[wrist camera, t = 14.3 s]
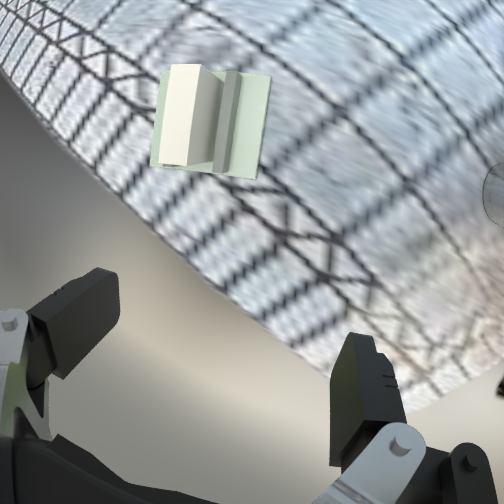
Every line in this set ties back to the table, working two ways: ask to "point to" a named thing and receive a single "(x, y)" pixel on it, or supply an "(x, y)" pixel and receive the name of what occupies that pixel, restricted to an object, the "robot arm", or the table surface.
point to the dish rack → (227, 125)
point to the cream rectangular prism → (190, 115)
